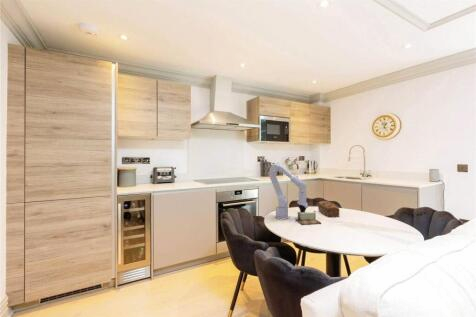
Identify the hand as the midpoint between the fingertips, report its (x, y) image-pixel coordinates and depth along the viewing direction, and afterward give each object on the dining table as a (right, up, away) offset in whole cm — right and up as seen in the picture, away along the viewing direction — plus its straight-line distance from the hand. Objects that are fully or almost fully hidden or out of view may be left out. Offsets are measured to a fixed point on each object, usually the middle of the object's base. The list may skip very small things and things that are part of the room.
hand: (302, 214), depth 178 cm
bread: (+26, -3, +13) cm, 29 cm away
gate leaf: (+2, -2, -5) cm, 6 cm away
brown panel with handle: (+2, -4, -7) cm, 8 cm away
